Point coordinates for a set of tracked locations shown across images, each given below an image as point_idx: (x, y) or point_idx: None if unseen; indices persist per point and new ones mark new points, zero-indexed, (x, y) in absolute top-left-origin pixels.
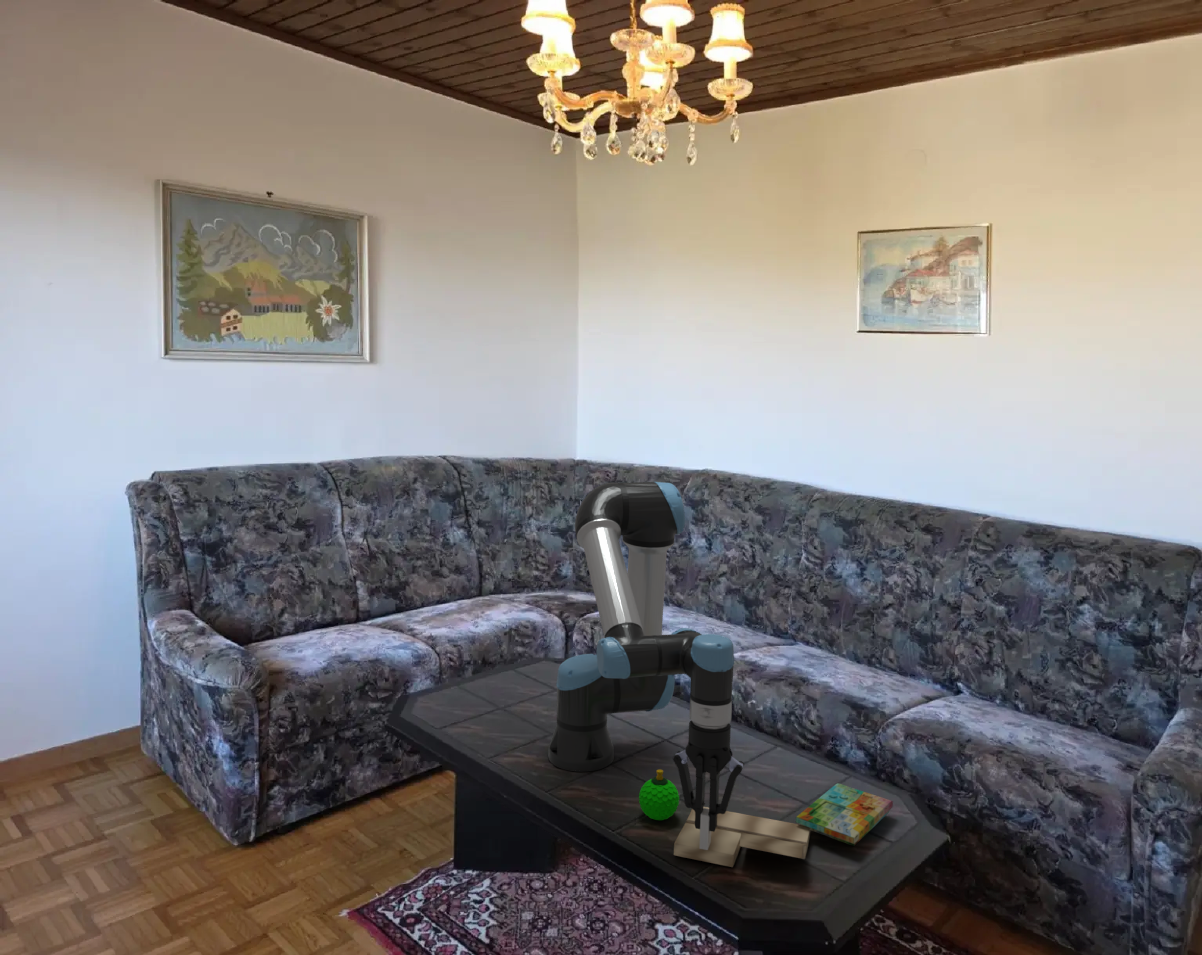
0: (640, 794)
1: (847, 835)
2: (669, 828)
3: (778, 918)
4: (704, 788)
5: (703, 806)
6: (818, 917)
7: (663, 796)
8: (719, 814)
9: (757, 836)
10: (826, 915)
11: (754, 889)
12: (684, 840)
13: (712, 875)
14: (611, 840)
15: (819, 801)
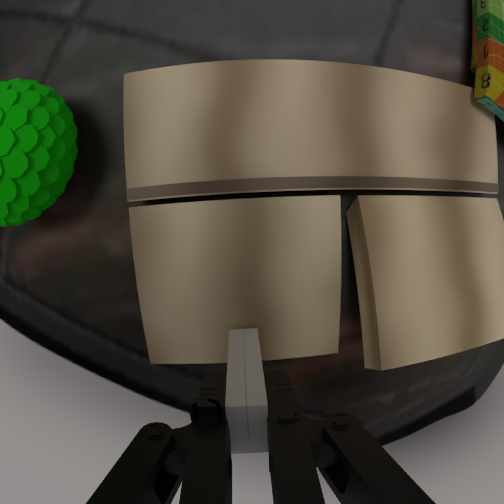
0: None
1: None
2: (90, 194)
3: (415, 419)
4: (225, 501)
5: (227, 431)
6: (471, 382)
7: (11, 203)
8: (230, 93)
9: (430, 359)
10: (483, 370)
11: (379, 373)
12: (170, 336)
13: (280, 370)
14: (13, 315)
15: (498, 8)
